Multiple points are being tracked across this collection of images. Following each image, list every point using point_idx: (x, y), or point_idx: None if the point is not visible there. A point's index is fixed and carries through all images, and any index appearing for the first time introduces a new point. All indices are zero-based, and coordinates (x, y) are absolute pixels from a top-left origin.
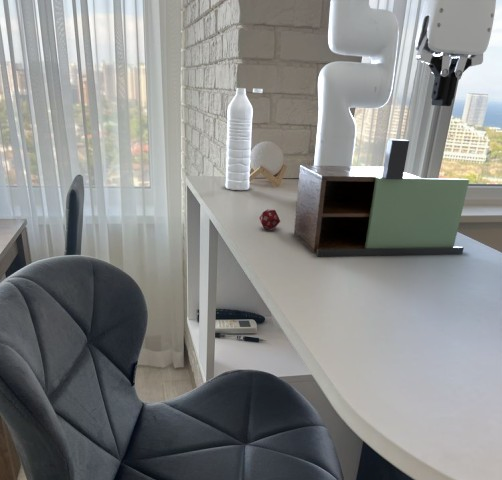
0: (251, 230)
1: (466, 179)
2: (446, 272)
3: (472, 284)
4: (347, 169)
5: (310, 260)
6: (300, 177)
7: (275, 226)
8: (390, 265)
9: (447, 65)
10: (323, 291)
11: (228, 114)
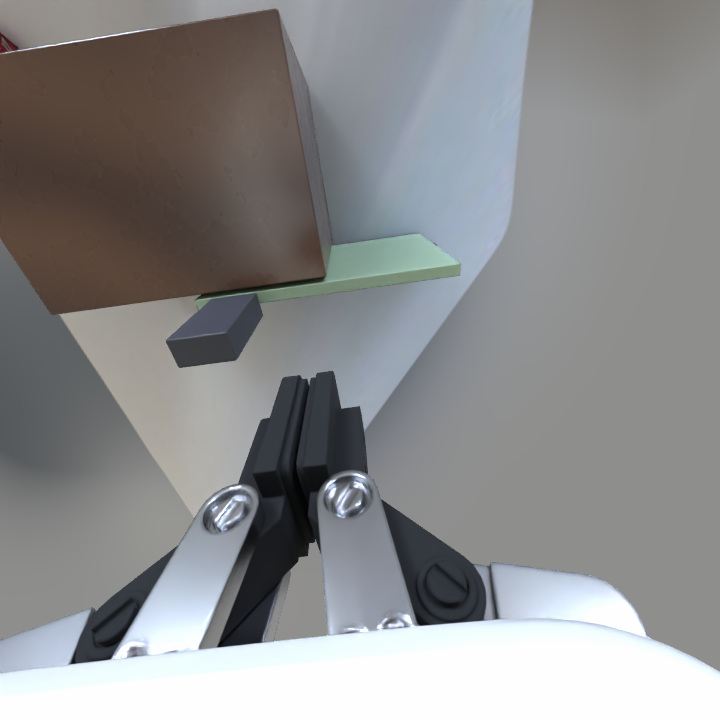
0: None
1: (453, 273)
2: (357, 340)
3: (371, 379)
4: (99, 155)
5: (154, 304)
6: None
7: (16, 50)
8: (282, 318)
9: (264, 627)
10: (183, 408)
11: None
